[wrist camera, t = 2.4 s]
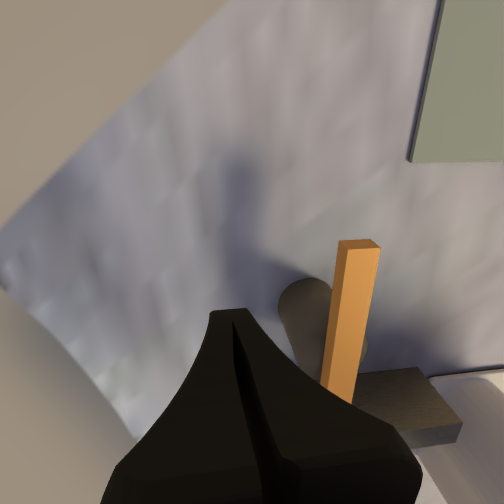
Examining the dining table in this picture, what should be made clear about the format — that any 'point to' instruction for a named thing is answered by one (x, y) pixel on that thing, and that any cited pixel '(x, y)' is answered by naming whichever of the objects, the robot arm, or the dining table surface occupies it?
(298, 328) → the plug
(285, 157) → the dining table surface
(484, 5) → the mat
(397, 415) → the clamp rail
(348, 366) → the bar
